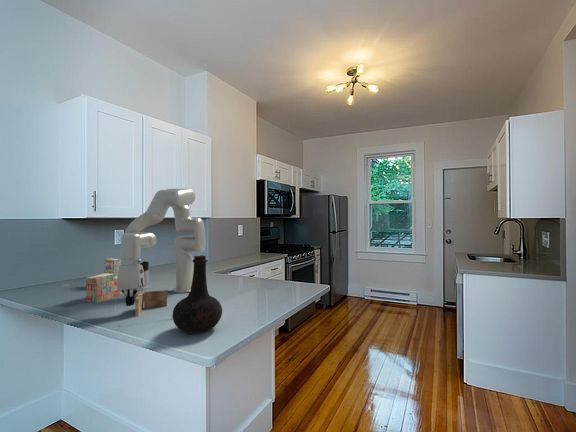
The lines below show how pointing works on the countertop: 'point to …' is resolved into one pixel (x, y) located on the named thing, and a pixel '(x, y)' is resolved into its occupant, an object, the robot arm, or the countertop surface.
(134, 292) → the robot arm
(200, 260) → the glass bottle
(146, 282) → the white and black mug
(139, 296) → the panel
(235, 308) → the countertop surface
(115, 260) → the candy bar box
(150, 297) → the fixed fence panel
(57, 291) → the countertop surface
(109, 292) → the stack of blocks
